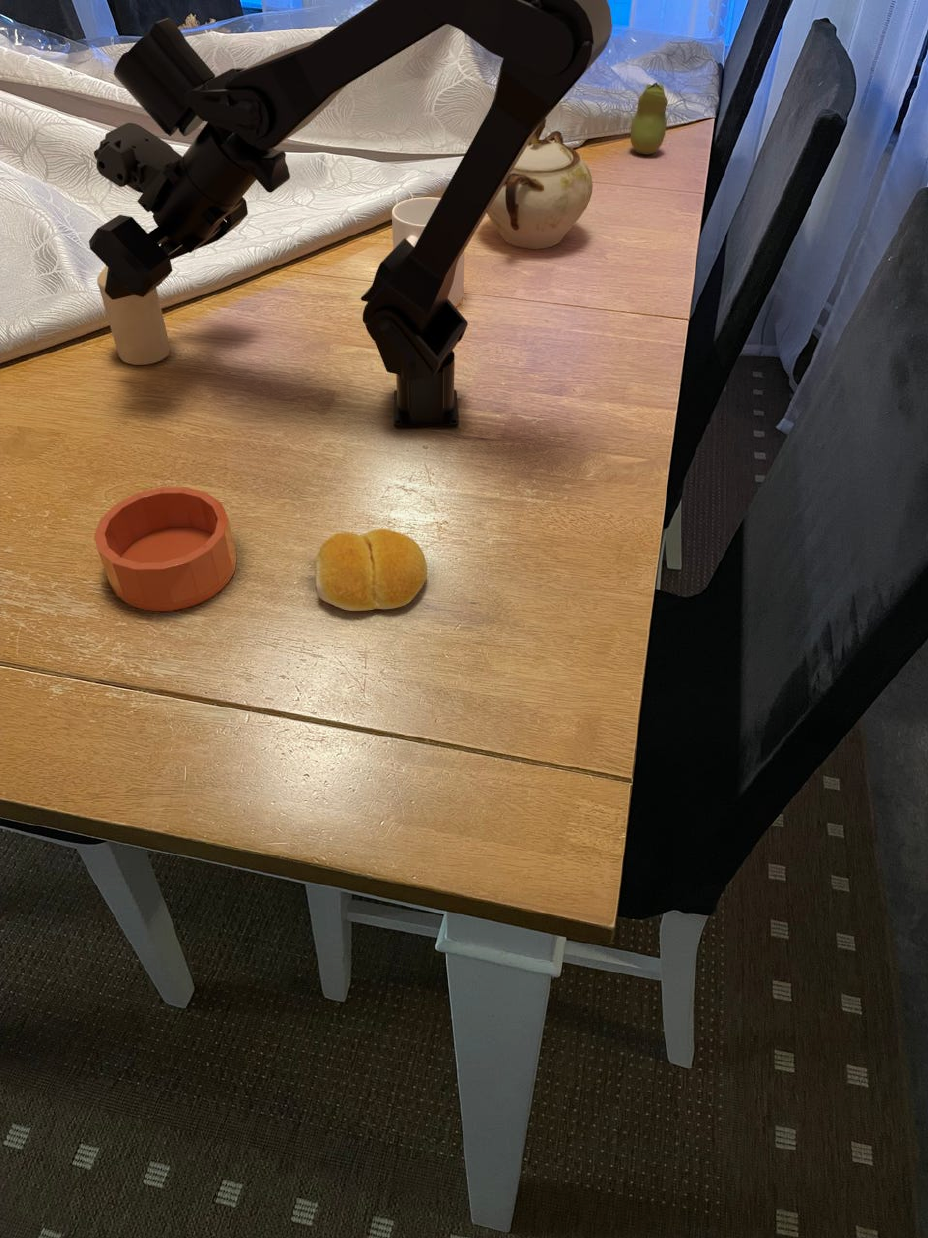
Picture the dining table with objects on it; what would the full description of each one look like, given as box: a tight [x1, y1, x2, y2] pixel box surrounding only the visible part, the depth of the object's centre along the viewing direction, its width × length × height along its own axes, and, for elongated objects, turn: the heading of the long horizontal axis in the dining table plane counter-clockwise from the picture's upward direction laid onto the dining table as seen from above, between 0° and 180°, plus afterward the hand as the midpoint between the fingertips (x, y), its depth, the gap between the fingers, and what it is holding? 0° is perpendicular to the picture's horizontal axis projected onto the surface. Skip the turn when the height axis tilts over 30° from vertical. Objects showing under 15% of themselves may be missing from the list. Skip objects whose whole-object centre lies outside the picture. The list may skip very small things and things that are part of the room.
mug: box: [391, 196, 465, 308], centre depth 101 cm, size 12×8×10 cm
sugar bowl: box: [486, 117, 594, 250], centre depth 114 cm, size 20×15×15 cm
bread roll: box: [315, 528, 428, 612], centre depth 70 cm, size 8×9×4 cm
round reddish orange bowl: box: [93, 486, 237, 612], centre depth 70 cm, size 10×10×4 cm
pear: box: [630, 82, 669, 155], centre depth 140 cm, size 6×5×10 cm
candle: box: [96, 265, 171, 366], centre depth 92 cm, size 6×6×10 cm
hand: (136, 275), depth 89 cm, fingers open, 9 cm apart
